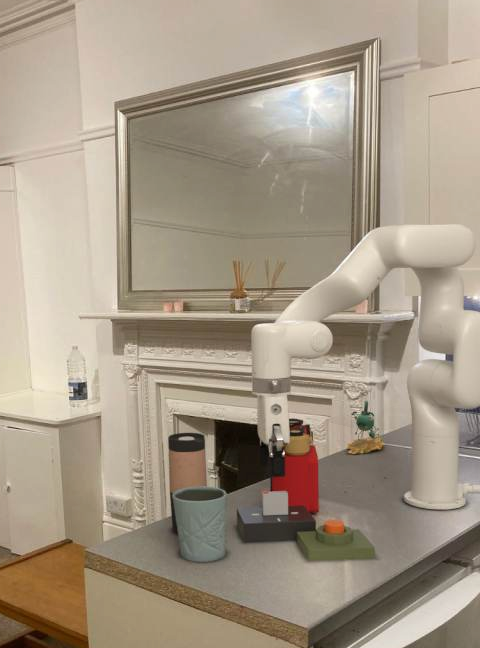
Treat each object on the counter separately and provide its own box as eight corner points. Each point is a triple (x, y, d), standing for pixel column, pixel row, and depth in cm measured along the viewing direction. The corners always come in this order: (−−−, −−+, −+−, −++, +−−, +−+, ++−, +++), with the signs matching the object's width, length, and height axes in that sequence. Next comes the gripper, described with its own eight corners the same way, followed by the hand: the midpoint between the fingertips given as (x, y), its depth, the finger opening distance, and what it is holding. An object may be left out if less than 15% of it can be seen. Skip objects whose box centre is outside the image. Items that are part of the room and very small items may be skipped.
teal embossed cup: (237, 558, 152) (235, 496, 150) (187, 567, 149) (184, 503, 147) (214, 541, 161) (212, 483, 160) (167, 549, 159) (164, 489, 157)
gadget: (304, 523, 169) (304, 504, 169) (316, 540, 159) (315, 519, 159) (237, 526, 170) (236, 507, 169) (244, 543, 160) (244, 522, 159)
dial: (286, 512, 165) (286, 489, 164) (288, 514, 163) (287, 491, 162) (261, 513, 165) (261, 490, 164) (263, 515, 163) (262, 492, 163)
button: (341, 528, 155) (341, 519, 154) (346, 534, 151) (346, 525, 151) (322, 529, 155) (322, 520, 154) (327, 535, 151) (327, 526, 151)
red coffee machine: (319, 519, 172) (318, 426, 169) (270, 518, 174) (268, 427, 171) (314, 497, 187) (313, 412, 184) (269, 497, 189) (267, 413, 186)
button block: (358, 540, 158) (358, 520, 158) (374, 558, 148) (374, 537, 148) (296, 542, 159) (296, 522, 158) (308, 561, 149) (308, 540, 148)
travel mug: (170, 525, 173) (166, 433, 170) (206, 523, 173) (203, 431, 170) (172, 537, 165) (168, 441, 163) (210, 535, 165) (207, 439, 162)
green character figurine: (399, 444, 233) (397, 395, 230) (367, 463, 222) (364, 412, 218) (368, 439, 240) (365, 391, 237) (335, 458, 229) (332, 408, 225)
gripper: (300, 392, 152) (300, 481, 154) (281, 379, 169) (282, 459, 171) (259, 393, 152) (260, 482, 154) (245, 380, 169) (246, 460, 171)
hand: (272, 470), depth 163 cm, fingers open, 9 cm apart
